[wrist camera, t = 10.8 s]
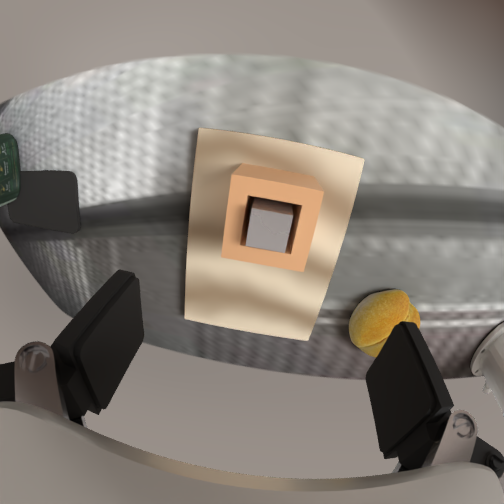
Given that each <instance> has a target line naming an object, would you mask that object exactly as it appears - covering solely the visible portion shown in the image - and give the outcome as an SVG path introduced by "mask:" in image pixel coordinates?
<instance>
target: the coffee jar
mask: <svg viewBox="0 0 504 504" xmlns="http://www.w3.org/2000/svg"><path fill="white" fill-rule="evenodd" d="M20 188H21V179H20V163H19V153H18V146H17V142H16V140H15V138H14V137H13V136H12V135H11V134H8V133H5V134H0V207H1V206H3V205H6V204H8V203H10V202H12V201H14V200H15V199H16V198H17V197H18V195H19V193H20Z"/></svg>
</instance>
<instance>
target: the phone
mask: <svg viewBox="0 0 504 504" xmlns="http://www.w3.org/2000/svg"><path fill="white" fill-rule="evenodd" d="M20 179H21V188H20V193H19V195H18V197H17V198H16V199H15V200H14V201H12V202H10V203H8V211H9V216H10V219H11V220H12V221H13V222H15V223H19V224H24V225H30V226H35V227H40V228H45V229H50V230H56V231H61V232H66V233H72V234H73V233H76V232H77V231H79V229H80V213H79V201H78V184H77V178H76V175H75V174H74V173H73V172H71V171H56V170H50V171H48V170H43V171H20Z"/></svg>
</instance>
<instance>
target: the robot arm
mask: <svg viewBox="0 0 504 504" xmlns="http://www.w3.org/2000/svg"><path fill="white" fill-rule="evenodd" d="M143 338H144V329H143V320H142V310H141V299H140V285H139V279H138V278H136V277H135V274H134V273H132V272H128V271H124V270H118V271H116V273H115V274H114V275H113V276H112V277H111V278H110V279H109V280H108V281H107V282H106V283H105V284H104V285H103V286H102V287H101V288H100V289H99V290H98V291H97V293H96V294H95V295H94V296H93V297H92V298H91V299H90V300H89V301H88V302H87V303H86V305H85V306H84V307H83V308H82V309H81V310H80V311H79V312H78V314H77V315H76V316H75V317H74V318H73V319H72V320H71V322H70V323H69V324H68V325H67V326H66V328H65V329H64V330H63V331H62V332H61V333H60V335H59V336H58V337H57V338H56V339H55V341H54V342H53V344H52V345H51V346H49V345H47V344H46V343H43V342H39V341H38V342H30V343H27V344H26V345H24V346H22V347H21V348H20V349H19V351H18V352H17V354H16V357H15V361H14V362H10V363H5V364H0V504H504V457H503V456H502V454H501V453H500V452H499V451H498V450H497V449H495V448H494V447H492V446H491V445H489V444H488V443H486V442H485V441H483V440H482V439H480V438H479V437H477V433H478V427H477V423H476V420H475V418H474V417H473V416H472V415H471V414H470V413H469V412H467V411H465V410H460V409H459V410H455V411H454V412H453V413H451V411H450V409H451V408H452V407H453V406H454V404H453V402H452V399H451V397H450V394H449V392H448V390H447V388H446V385H445V383H444V380H443V378H442V376H441V374H440V371H439V369H438V367H437V365H436V363H435V361H434V358H433V356H432V354H431V352H430V350H429V348H428V346H427V344H426V342H425V340H424V338H423V336H422V334H421V332H420V330H419V329H418V327H417V325H416V323H414V322H406V321H401V322H400V323H399V324H397V325H395V326H394V328H393V329H392V331H391V333H390V335H389V337H388V338H387V340H386V342H385V344H384V345H383V347H382V349H381V351H380V352H379V354H378V356H377V357H376V359H375V360H374V362H373V364H372V365H371V367H370V368H369V370H368V372H367V374H366V383H367V387H368V392H369V396H370V401H371V405H372V411H373V415H374V420H375V426H376V431H377V436H378V442H379V448H380V451H381V452H383V454H384V459H389V458H396V457H398V458H399V462H398V464H397V465H396V467H395V469H394V470H393V472H392V473H390V474H383V475H375V476H366V477H356V478H340V479H339V478H338V479H292V478H276V477H264V476H254V475H247V474H240V473H233V472H227V471H221V470H216V469H211V468H206V467H201V466H197V465H192V464H188V463H184V462H180V461H176V460H172V459H169V458H166V457H162V456H159V455H156V454H152V453H149V452H146V451H143V450H141V449H137V448H134V447H132V446H129V445H127V444H124V443H121V442H119V441H116V440H114V439H111V438H108V437H106V436H104V435H101V434H99V433H97V432H94V431H92V430H90V429H88V428H87V426H86V422H85V418H84V415H85V414H86V412H87V410H89V411H91V412H93V413H95V414H98V415H99V413H100V411H101V409H106V407H107V406H108V404H109V402H110V401H111V398H112V397H113V395H114V393H115V391H116V389H117V387H118V385H119V383H120V382H121V380H122V378H123V376H124V374H125V372H126V370H127V369H128V367H129V365H130V363H131V361H132V359H133V358H134V356H135V354H136V352H137V351H138V349H139V347H140V345H141V344H142V341H143ZM470 369H471V371H472V373H473V374H474V375H475V376H484V377H485V379H486V383H485V385H484V388H483V392H484V393H485V394H488V393H490V391H491V390H492V392H493V394H494V396H495V398H496V400H497V403H498V405H499V407H500V409H501V411H502V414H503V416H504V322H503V323H502V324H500V325H499V326H498V327H496V328H495V329H494V330H493V331H492V332H491V333H490V334H489V335H488V336H487V337H486V338H485V339H484V340H483V342H482V343H481V344H480V346H479V347H478V349H477V350H476V352H475V354H474V355H473V358H472V360H471V364H470Z"/></svg>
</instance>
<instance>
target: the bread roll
mask: <svg viewBox="0 0 504 504" xmlns="http://www.w3.org/2000/svg"><path fill="white" fill-rule="evenodd" d="M401 321H406V322H414V323H416V325H417V327H418V329H419V327H420V316H419V313H418V311H417V309H416V308H415V307H414V306H413V305H412V304H411V303H410V302H409V298H408V296H407V294H406V293H404V292H403V291H401V290H398V289H393V290H387V291H382V292H378V293H373V294H370V295H369V296H367V297H366V298H364V299H363V300H362V301H361V302H360V303H359V304H358V306H357V307H356V308H355V310H354V311H353V314H352V316H351V318H350V322H349V334H350V338H351V341H352V342H353V344H354V345H356V346H357V347H358V348H360V349H361V350H362V351H363V352H365V353H366V354H368V355H370V356H373V357H377V356H378V354H379V352H380V351H381V349H382V347H383V345H384V344H385V342H386V340H387V338H388V337H389V335H390V333H391V331H392V329H393V328H394V326H395V325H397V324H399V323H400V322H401Z"/></svg>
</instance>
